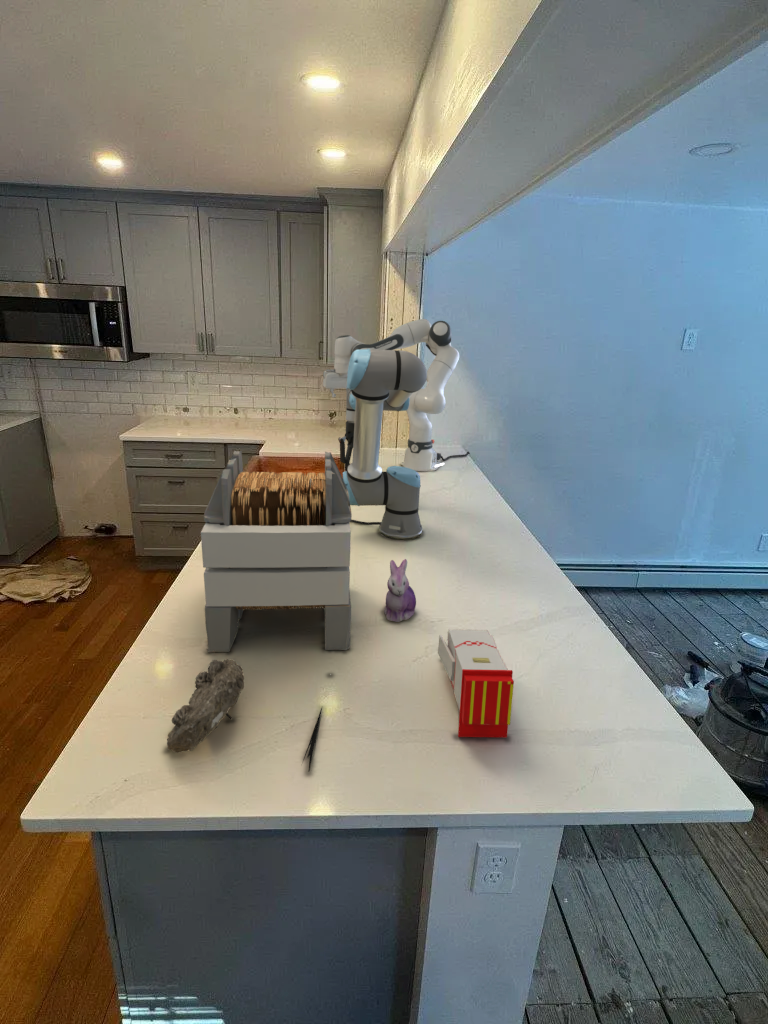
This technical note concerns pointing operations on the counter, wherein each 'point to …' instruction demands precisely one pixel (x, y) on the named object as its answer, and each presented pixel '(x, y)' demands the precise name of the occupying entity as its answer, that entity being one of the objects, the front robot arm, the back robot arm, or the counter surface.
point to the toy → (478, 682)
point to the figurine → (399, 594)
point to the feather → (313, 740)
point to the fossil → (206, 705)
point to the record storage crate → (277, 549)
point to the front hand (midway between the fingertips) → (354, 478)
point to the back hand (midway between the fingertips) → (342, 397)
